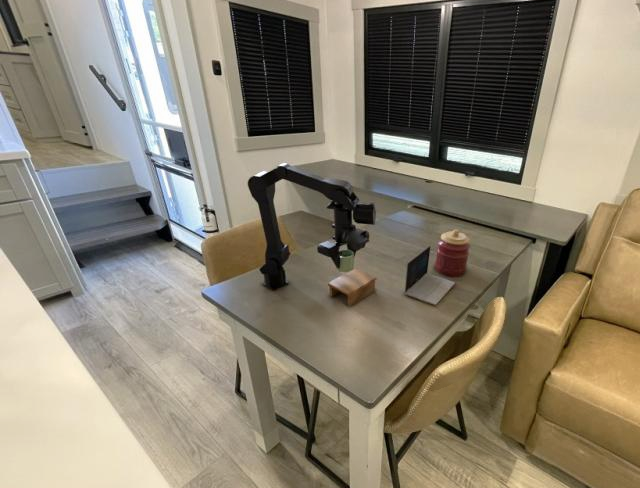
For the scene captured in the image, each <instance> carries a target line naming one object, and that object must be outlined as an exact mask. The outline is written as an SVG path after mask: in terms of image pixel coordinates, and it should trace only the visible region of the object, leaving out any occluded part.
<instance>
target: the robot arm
mask: <svg viewBox="0 0 640 488" xmlns="http://www.w3.org/2000/svg"><path fill="white" fill-rule="evenodd" d="M281 180H284V181H287V182H290V183H293V184H296V185H299V186H302V187H303V188H307V189H310V190H312V191H315V192H318V193H320V194H322V195H323V196H324V197H326V198H327V199H328V200H330V201H331V202H330V203H328V204H327V206H326V209H328V210H333V222H334V223H332V224H331V228H332V229H334V235H332V237H331V238H332V240H333V241H334V242H330V241H328V240H326V241H324V242H322V243H319V244H318V245H317V246H316V250H317V251H316V252H317V253H318V254H320V255H322V256H325V257H327V258H330V259H331V260H332V262H333V264H334V266H335V268H336V267H337V268H338V269H339V268H340V255H341V254H342V252H340V250H341V249H340V248H341V247H343V246H346V249H347V250H351V251H353V252H354V258H355V256H356V254H357V252H358V251H360V250H361V249H364V248H365V247H366V245H367V243H369V242H370V232H369V231H368V230H367V229H366V230H363V229H360V228H357V227H356V224H359V225H371V226H374V225H375V224H376V221H377V211H376V206H375V205H376V204H375V202H361V200H360V198H359V197H358V195H357V194H356V193H355V192H354V188H353V185H352V183H351V182H349V181H348V180H343V179H338V178H326V177H323V176H321V175H318V174H314V173H311V172H309V171H306V170H303V169H300V168H298V167H295V166H292V165H290V164H289V163H286V162H284V163H281V164H279V165H277V166H276V167H275V168H273V169H271V170H269V171H260V172H259V173H256V174H254V175H252V176H250V177H249V178H248V180H247V188H248V190H249V192H250V195H251V197H252V198H253V200H254V201H255V202H256V203H257V206H258V210H259V215H260V220H261V224H262V229H263V233H264V237H265V242H266V247H265V253H264V260H265V262H264V263H263V264H262V266H261V267H259V268H258V269H259V271H260V274H261V275H263V279H264V281H263V282H262V285H263V286H265V287H266V288H268V289H270V290H271V291H275V290H277V289H280V288H281V287H283V286H286V285H288V284H289V281H287V276H286V270H285V269H284V265H285V264H286V263H287V262H288V260H289V258H290V256H291V252H290V246H289V244H284V242H283V241H282V238H281V233H280V228H279V222H278V217H277V213H276V207H275V203H274V200H275V194H276V183H278V182H280V181H281ZM353 221H354V223H356V224H354V223H353Z"/></svg>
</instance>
